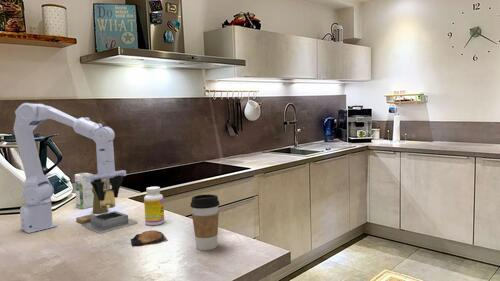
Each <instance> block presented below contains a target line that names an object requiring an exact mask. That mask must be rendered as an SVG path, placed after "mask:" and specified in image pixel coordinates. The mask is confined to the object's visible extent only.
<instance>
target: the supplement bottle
mask: <svg viewBox="0 0 500 281" xmlns="http://www.w3.org/2000/svg"><path fill="white" fill-rule="evenodd" d="M145 192H146V194H145V196H144V197H143V200H144V202H143V204H144V220H145V224H146V225H147V226H157V225H162V224H163V223H164V222H165V208H164V207H165V206H164V196H163V194H161V193H160V192H161V187H160V186H150V187H149V186H148V187H146V191H145Z"/></svg>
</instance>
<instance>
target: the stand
mask: <svg viewBox="0 0 500 281" xmlns="http://www.w3.org/2000/svg"><path fill="white" fill-rule="evenodd" d="M96 215H97V214H93V213H91V214H87V215H83V216H78V217H75V218H76V219H75V220H76V223H79V224H81V225H82V224H84V223H88V222H91V218H90V217H92V216H96Z"/></svg>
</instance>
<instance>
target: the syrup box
mask: <svg viewBox="0 0 500 281" xmlns="http://www.w3.org/2000/svg"><path fill="white" fill-rule="evenodd" d="M90 175H94V174H93V173H88V172H81V173H76V174H74V184H75V185H74V187H75V203H76V208H78V209H80V210H84V209H88V208H93V198H94V194H93V193H92V188H93V186H92V185H91V183H90V182H86V176H90Z"/></svg>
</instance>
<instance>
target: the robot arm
mask: <svg viewBox="0 0 500 281" xmlns="http://www.w3.org/2000/svg"><path fill="white" fill-rule="evenodd" d="M14 114H15V120H14V123H13V133H14V137H15V141H16V145H17V149H18V153H19V155H20V159H21V164H22V168H23V172H24V174H25V179H24V182H23V185H22V189H23V192H22V198H23V200H24V202H25V203H26V205H23V206H20V209H19V215H20V230H22V231H23V232H25V233H27V234H29V233H35V232H39V231H43V230H48V229H52V228H56V227H58V225H57V224H56V223H54V221H53V210H52V197H53V195H54V194H55V193H54V192H55V189H54V186H53V185H52V184H51V182H50V180H49V177H47V175H45V174H44V171H43V167H42V162H41V160H40V156H39V151H38V147H37V144H36V141H35V136H34V133H33V132H34V130H35V129H36V128H37V126H38V125H40V124H42V123H43V122H45V121H46V120H48V119H49V120H54V121H56V122H58V123H61V124H63V125H67V126H69V127H71V128H73V130H74V133H77V134H78V135H81V136H83V137H87V138H89V139H90V140H93V141H94V143H95V148H96V151H95V152H96V165H97V166H96V167H97V173H95V174H93V175H90V176H86V182H90V183H91V185H92V186H93V188H94V190H95V192H96V194H97V197H98V200H99V201H103V199H104V196H103V187H104V182H102V180H103V179H109V181H110V187H111V188H112V189H114V191H115V199H116V198H118V197H119V191H120V188H121V186H122V183H123V181H124V177H126V176H127V170H124V169H122V170H116V167H115V166H116V164H115V152H114V140H115V137H116V134H115V131H114V129H113V128H111V127H110V126H103V124H102V123H97V122H94V121H92V120H91V119H90V117H83V116H82V117H79V118H76V117H74V116H71V115H70V114H68V113H65V112H64V111H61V110H60V109H57V108H55V107H53V106H50V105H45V104H44V103H31V102H23V103H21V104H20V105H19V106H18V107H17V108H16V109H15V111H14Z"/></svg>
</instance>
